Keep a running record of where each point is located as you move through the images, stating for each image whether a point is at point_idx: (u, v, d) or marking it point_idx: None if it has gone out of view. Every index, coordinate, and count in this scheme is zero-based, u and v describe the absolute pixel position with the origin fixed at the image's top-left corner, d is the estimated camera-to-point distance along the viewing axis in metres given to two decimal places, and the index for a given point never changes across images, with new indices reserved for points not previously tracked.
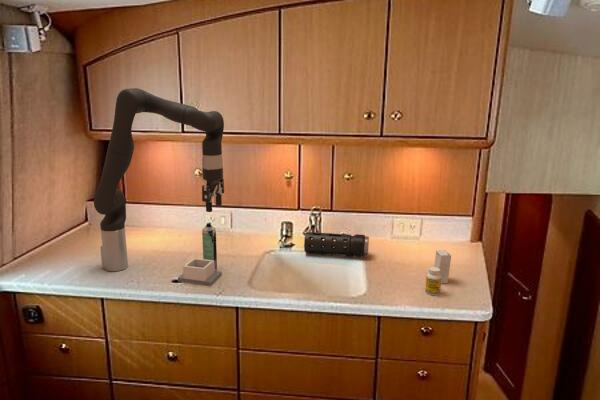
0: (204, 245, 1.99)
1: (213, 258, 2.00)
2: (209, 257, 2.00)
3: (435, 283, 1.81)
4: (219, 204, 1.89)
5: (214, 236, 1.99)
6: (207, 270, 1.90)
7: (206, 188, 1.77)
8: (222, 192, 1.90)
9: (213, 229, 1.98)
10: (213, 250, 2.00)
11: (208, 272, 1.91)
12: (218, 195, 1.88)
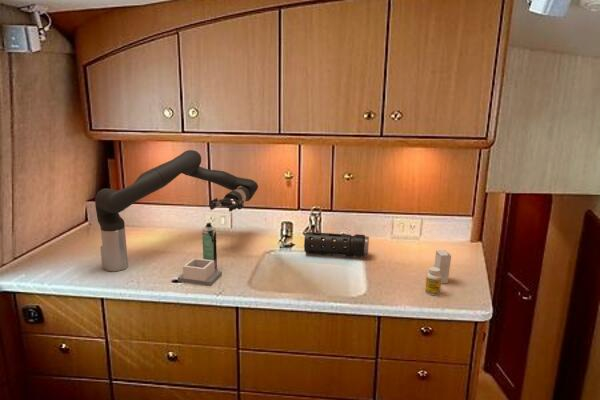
0: (204, 245, 1.99)
1: (213, 258, 2.00)
2: (209, 257, 2.00)
3: (435, 283, 1.81)
4: (212, 208, 2.10)
5: (214, 236, 1.99)
6: (207, 270, 1.90)
7: (243, 204, 2.16)
8: None
9: (213, 229, 1.98)
10: (213, 250, 2.00)
11: (208, 272, 1.91)
12: (215, 205, 2.13)
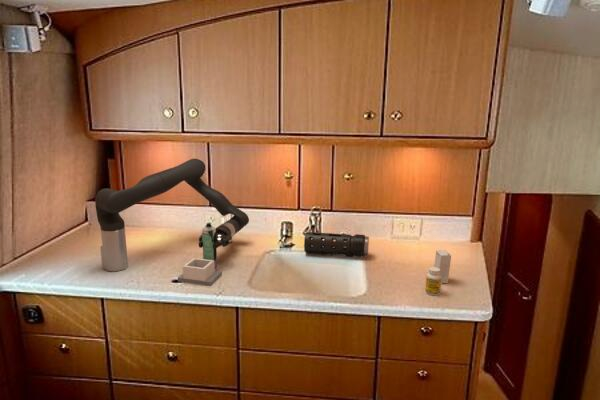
0: (204, 245, 1.99)
1: (213, 258, 2.00)
2: (209, 257, 2.00)
3: (435, 283, 1.81)
4: (201, 246, 2.00)
5: (214, 236, 1.99)
6: (207, 270, 1.90)
7: (231, 241, 2.06)
8: None
9: (213, 229, 1.98)
10: (213, 250, 2.00)
11: (208, 272, 1.91)
12: None
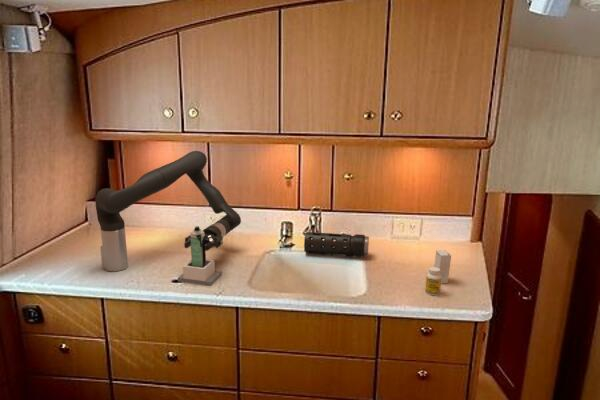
0: (192, 250, 1.89)
1: (202, 263, 1.91)
2: (198, 262, 1.90)
3: (435, 283, 1.81)
4: (187, 246, 1.91)
5: (203, 240, 1.89)
6: (207, 270, 1.90)
7: (222, 242, 1.96)
8: None
9: (202, 233, 1.89)
10: (202, 255, 1.90)
11: (208, 272, 1.91)
12: None
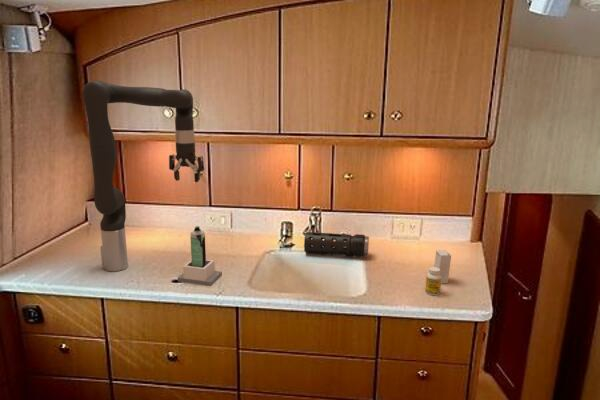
0: (192, 250, 1.89)
1: (202, 263, 1.91)
2: (198, 262, 1.90)
3: (435, 283, 1.81)
4: (178, 178, 2.00)
5: (203, 240, 1.89)
6: (207, 270, 1.90)
7: (202, 158, 1.96)
8: None
9: (202, 233, 1.89)
10: (202, 255, 1.90)
11: (208, 272, 1.91)
12: (177, 170, 1.99)
